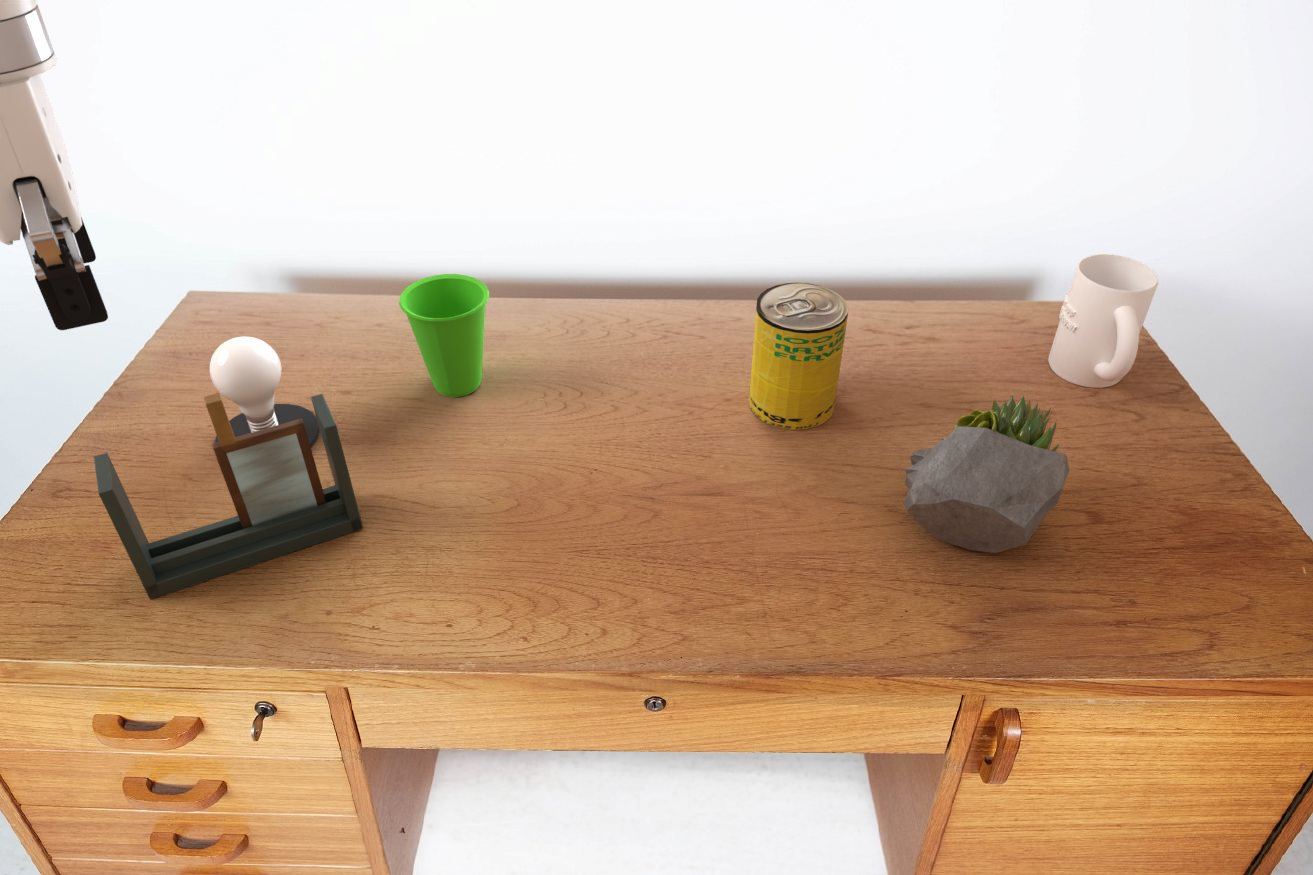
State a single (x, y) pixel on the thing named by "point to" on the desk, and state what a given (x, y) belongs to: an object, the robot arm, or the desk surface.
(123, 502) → the window frame
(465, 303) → the cup
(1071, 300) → the mug
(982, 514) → the potted plant
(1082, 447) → the desk surface
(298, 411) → the coaster
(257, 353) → the lightbulb
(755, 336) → the beverage can
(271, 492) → the window sash
